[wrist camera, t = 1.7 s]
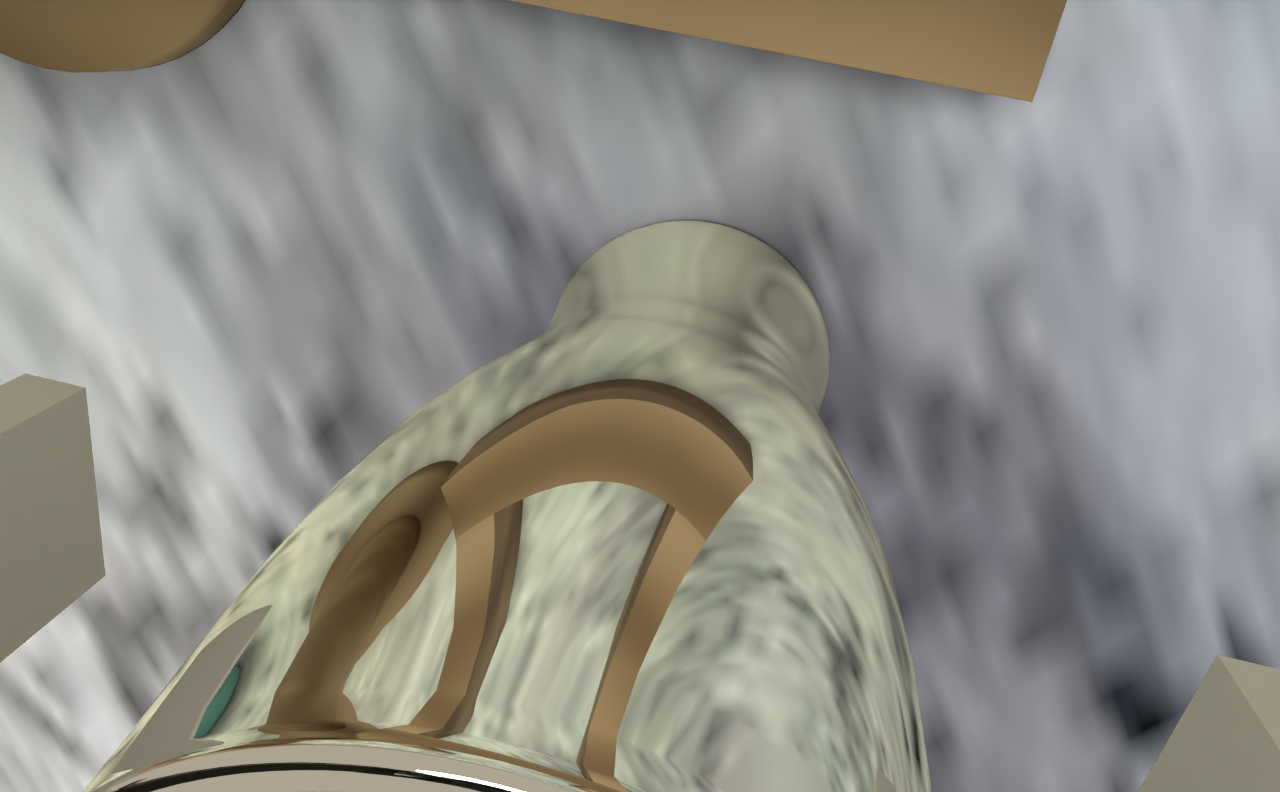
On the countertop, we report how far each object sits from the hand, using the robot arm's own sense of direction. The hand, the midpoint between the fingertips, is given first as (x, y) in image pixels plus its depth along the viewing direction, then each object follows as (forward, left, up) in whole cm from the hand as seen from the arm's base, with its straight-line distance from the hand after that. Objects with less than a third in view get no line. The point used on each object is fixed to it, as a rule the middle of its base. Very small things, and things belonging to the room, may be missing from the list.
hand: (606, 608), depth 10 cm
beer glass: (0, 0, -10) cm, 10 cm away
